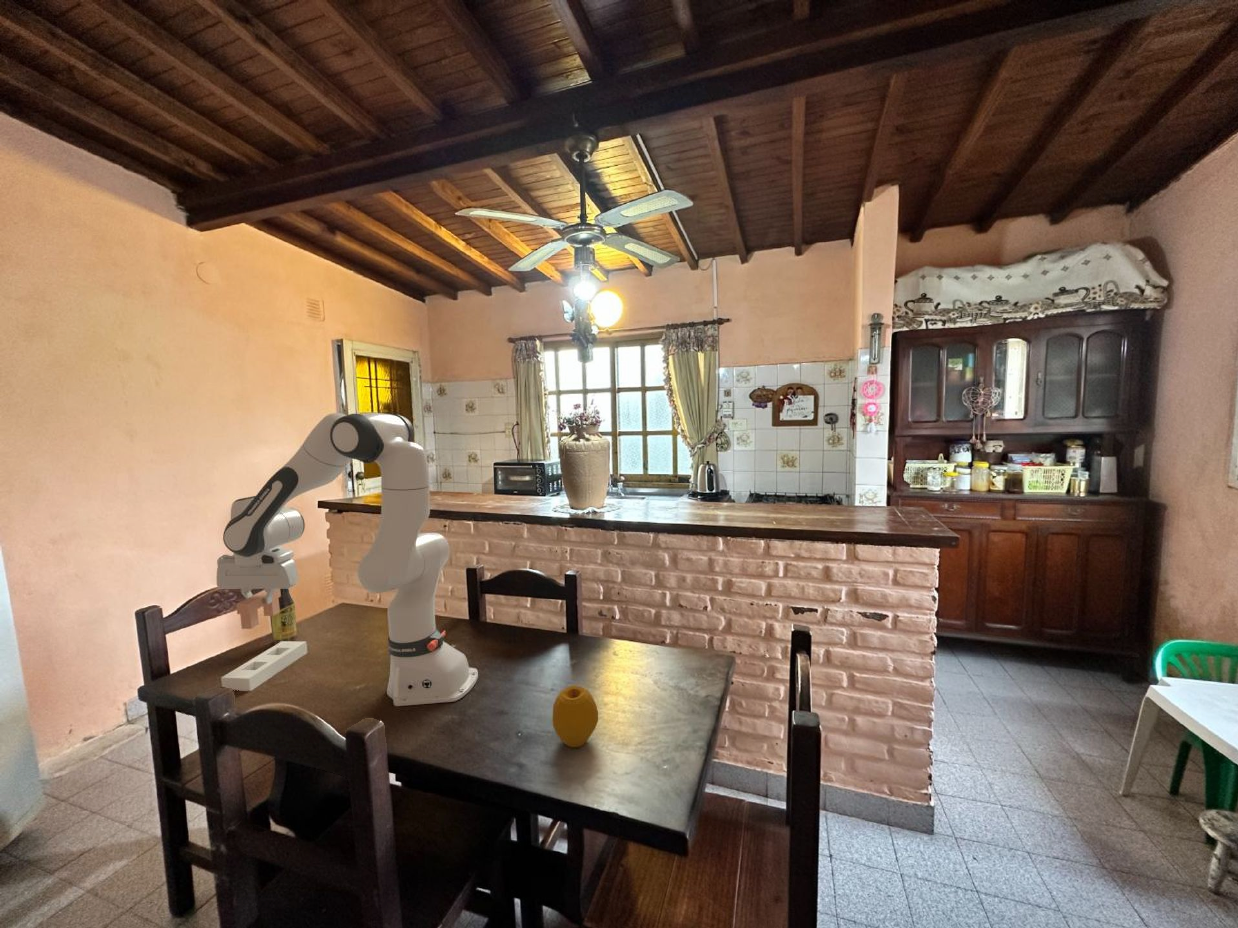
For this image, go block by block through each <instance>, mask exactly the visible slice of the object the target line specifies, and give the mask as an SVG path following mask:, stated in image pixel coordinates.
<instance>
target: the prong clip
mask: <svg viewBox="0 0 1238 928" xmlns="http://www.w3.org/2000/svg"><path fill="white" fill-rule="evenodd" d="M266 595H267V592H265V589H262V590H260V591H259V592H257V593H254V594H253V596H251V597H249V598H247V599H246V598H245V599H243V600H241V601H239V602H237V603H236V604H235V605H236V614H237V615H240V622H241V623H240V625H241V629H242V630H246V629H247V630H251V629H253V628H255V627H257V626H259V624H260V623H259V611H258V609H260V608H262V610H263V616H265V617H271V616H274V615H276V614H277V613H279V612H280V608H279V597H281V592H280V589H276V590H275V592H274V594H273V596H272V602H271V603H270V604H263V601H262V598H264V597H266Z"/></svg>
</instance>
